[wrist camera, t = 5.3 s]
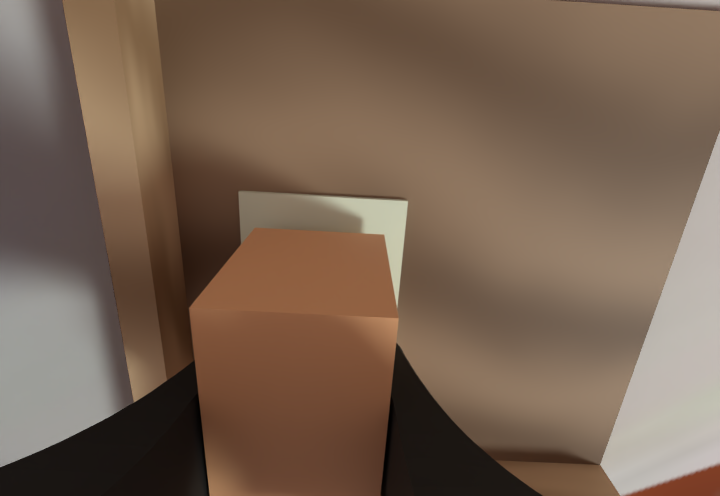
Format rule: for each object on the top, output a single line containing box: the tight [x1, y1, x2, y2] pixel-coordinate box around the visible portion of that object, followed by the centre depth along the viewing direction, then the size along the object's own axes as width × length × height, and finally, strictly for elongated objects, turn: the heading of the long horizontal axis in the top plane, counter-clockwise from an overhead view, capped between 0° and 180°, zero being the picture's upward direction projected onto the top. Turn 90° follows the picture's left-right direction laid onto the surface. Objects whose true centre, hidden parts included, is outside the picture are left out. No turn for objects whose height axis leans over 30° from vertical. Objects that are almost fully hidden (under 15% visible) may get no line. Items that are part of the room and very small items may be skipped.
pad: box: [238, 191, 408, 306], centre depth 14 cm, size 9×5×1 cm, turn 177°
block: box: [189, 228, 399, 496], centre depth 11 cm, size 8×4×5 cm, turn 177°
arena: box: [62, 0, 720, 496], centre depth 13 cm, size 18×18×3 cm
